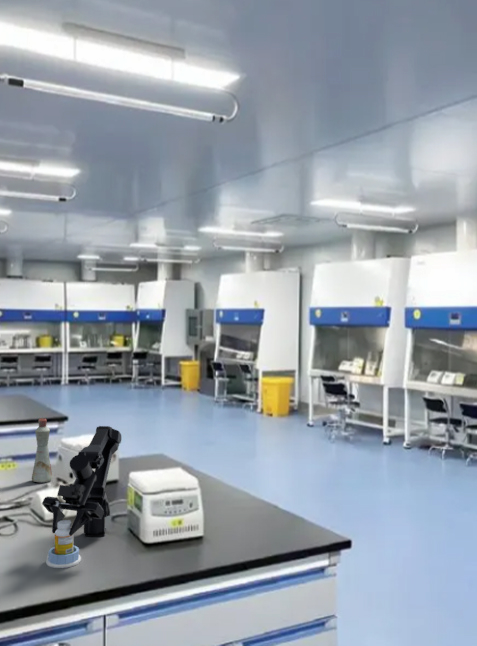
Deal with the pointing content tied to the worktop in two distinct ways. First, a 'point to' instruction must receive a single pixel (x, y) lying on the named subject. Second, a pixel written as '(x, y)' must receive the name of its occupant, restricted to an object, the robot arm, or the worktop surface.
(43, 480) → the bottle
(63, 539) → the supplement bottle
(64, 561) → the holder
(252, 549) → the worktop surface
